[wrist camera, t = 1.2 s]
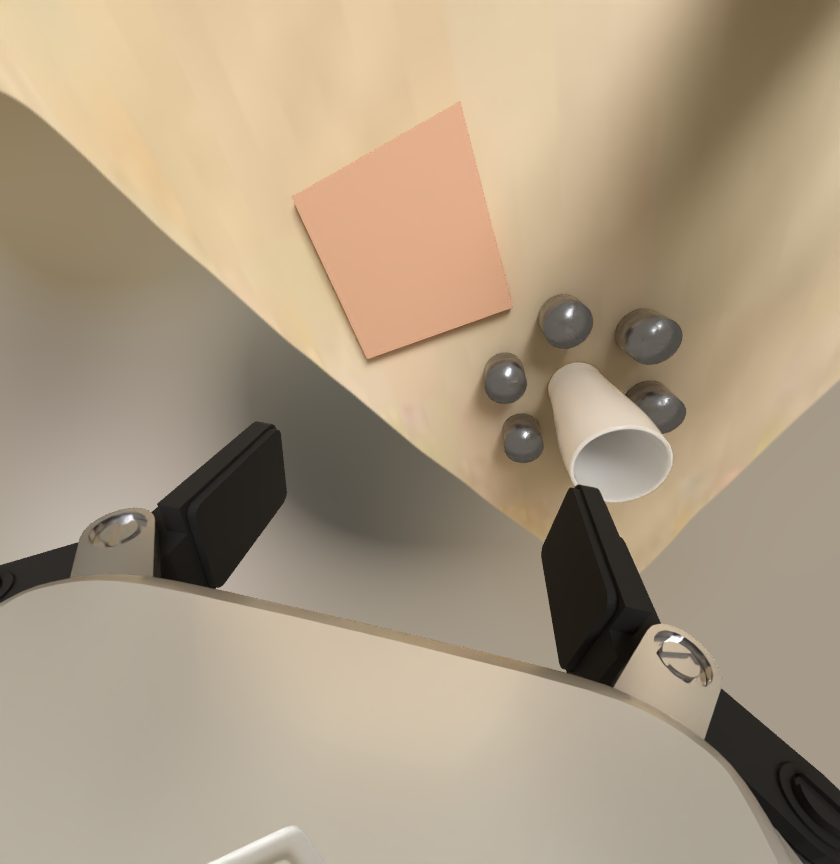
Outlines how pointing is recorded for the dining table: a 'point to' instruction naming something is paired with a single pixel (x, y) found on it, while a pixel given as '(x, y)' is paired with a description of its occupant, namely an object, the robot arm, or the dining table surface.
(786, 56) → the dining table surface
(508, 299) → the terracotta tile
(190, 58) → the dining table surface
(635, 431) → the drinking glass
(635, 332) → the spacer posts
